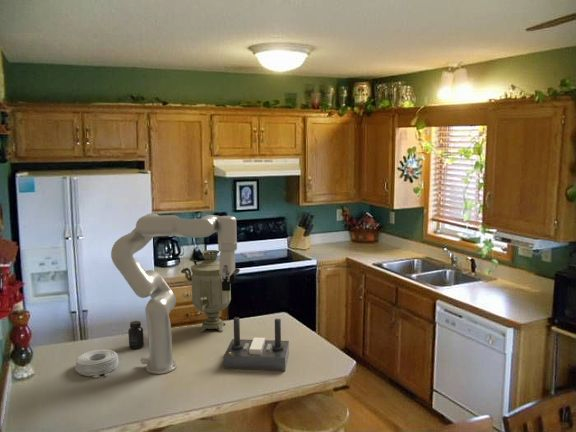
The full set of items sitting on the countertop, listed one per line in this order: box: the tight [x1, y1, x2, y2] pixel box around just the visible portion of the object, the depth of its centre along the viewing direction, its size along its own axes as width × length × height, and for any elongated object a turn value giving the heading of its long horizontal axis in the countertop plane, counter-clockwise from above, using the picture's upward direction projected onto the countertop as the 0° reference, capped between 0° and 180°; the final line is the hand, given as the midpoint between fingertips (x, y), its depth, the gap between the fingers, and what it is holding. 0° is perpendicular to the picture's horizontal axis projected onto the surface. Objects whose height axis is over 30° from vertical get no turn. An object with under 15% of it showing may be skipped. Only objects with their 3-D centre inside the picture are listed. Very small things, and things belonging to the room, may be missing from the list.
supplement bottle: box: [127, 320, 145, 350], centre depth 249 cm, size 7×7×12 cm
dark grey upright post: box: [232, 317, 243, 350], centre depth 232 cm, size 5×5×13 cm
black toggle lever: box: [272, 318, 283, 351], centre depth 231 cm, size 5×5×13 cm
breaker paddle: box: [249, 337, 266, 355], centre depth 233 cm, size 5×13×7 cm, turn 175°
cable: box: [74, 349, 119, 379], centre depth 227 cm, size 18×18×6 cm
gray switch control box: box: [223, 338, 290, 372], centre depth 233 cm, size 26×18×7 cm
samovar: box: [180, 249, 240, 333], centre depth 268 cm, size 30×26×40 cm
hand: (228, 287), depth 219 cm, fingers open, 9 cm apart
